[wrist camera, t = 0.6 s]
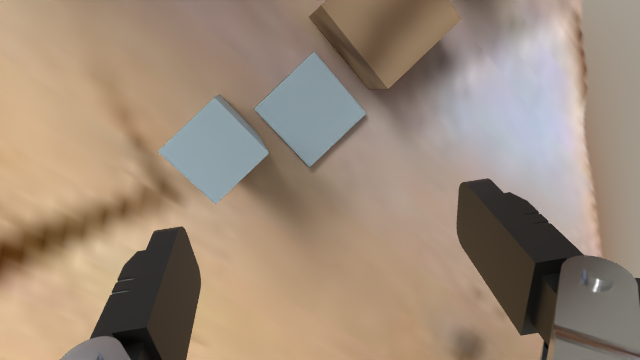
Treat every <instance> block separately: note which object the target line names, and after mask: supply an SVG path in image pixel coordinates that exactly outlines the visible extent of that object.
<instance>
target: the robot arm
mask: <svg viewBox="0 0 640 360" xmlns="http://www.w3.org/2000/svg"><path fill="white" fill-rule="evenodd" d="M457 235H458V239H459V241H460V244H461V246H462V248H463V249H464V251H465V252H466V254H467V255H468V257H469V258H470V260H471V261H472V263H473V264H474V266H475V267H476V269H477V270H478V272H479V273H480V275H481V276H482V278H483V279H484V281H485V282H486V284H487V285H488V287H489V288H490V290H491V291H492V293H493V294H494V296H495V297H496V299H497V300H498V302H499V303H500V305H501V306H502V308H503V309H504V311H505V312H506V314H507V315H508V317H509V318H510V320H511V321H512V323H513V324H514V326H515V327H516V329H517V330H518V332H519V333H520V335H527V334H533V333H539V334H540V336H541V337H542V338H543V340H544V341H543V345H542V349H541V356H540V360H640V278H634V277H633V276H632V274H631V273H629V272H628V271H627V270H626V269H625V268H623V267H621V266H620V265H618V264H616V263H614V262H612V261H609V260H607V259H603V258H600V257H595V256H585V255H583V254H582V253H581V252H580V251H579V250H578V249H577V248H576V247H575V246H574V245H573V244H572V243H571V242H570V241H569V240H568V239H567V238H566V237H565V236H563V235H562V234H561V233H560V232H559V231H558V230H557V229H556V228H555V227H554V226H553V225H552V224H551V223H550V224H549V223H548V220H547V219H546V218H545V217H543V216H542V215H541V214H539V212H538V211H537V210H536V209H535V208H534V207H533V206H532V205H531V204H530V203H529V202H528V201H526V200H524V199H522V198H520V197H518V196H516V195H514V194H512V193H510V192H508V193H503V192H502V191H501V190H500V189H499V188H498V187H497V186H496V185H495V184H494V183H493V182H492V181H491V180H490V179H481V180H475V181H468V182H463V183H461V184H460V187H459V196H458V211H457ZM117 280H118V282H117V283H116V284H115V286H114V288H113V290H112V295H110V297H109V299H108V301H107V303H106V305H105V307H104V309H103V312H102V314H101V316H100V318H99V320H98V322H97V325H96V327H95V329H94V331H93V333H92V335H91V337H90V339H89V340H87V341H85V342H82V343H81V344H79V345H77V346H76V347H74V348H73V349H71V350H70V351H69V352H68V353H66V354H65V355H64V356H63V357H62V358H61V359H60V360H186V357H187V353H188V348H189V343H190V338H191V333H192V328H193V323H194V318H195V313H196V308H197V304H198V299H199V294H200V288H201V277H200V271H199V267H198V264H197V261H196V258H195V255H194V252H193V250H192V247H191V244H190V241H189V238H188V235H187V233H186V230H185V229H184V228H183V227H175V228H169V229H163V230H156V231H154V232H153V234H152V237H151V239H150V241H149V244H148V246H147V249H146V250H143V251H137V253H136V254H135V255H134V256H133V257H132V258H131V259H130V260H129V261H128V262H127V263H126V264H125V265H124V267H123V269H122V271H121V273H120V275H119V277H118V279H117Z"/></svg>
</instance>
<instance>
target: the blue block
mask: <svg viewBox="0 0 640 360" xmlns="http://www.w3.org/2000/svg"><path fill="white" fill-rule="evenodd" d="M158 152H159V153H160V154H161V155H162V156H163V157H164V158H165V159H166V160H167V161H169V162H170V163H171V164H172V165H173V166H174V167H175V168H176V169H177V170H178V171H180V172H181V173H182V174H183V175H184V176H185V177H186V178H187V179H188V180H189V181H191V182H192V183H193V184H194V185H195V186H196V187H197V188H198V189H199V190H200V191H201V192H203V193H204V194H205V195H206V196H207V197H208V198H209V199H210V200H211V201H212V202H214V203H215V204H216V203H217V202H218V201H220V200H221V199H222V198H223V197H224V196H225V195H226V194H227V193H228V192H229V191H230V190H231V189H232V188H233V187H234V186H235V185H236V184H237V183H238V182H239V181H240V180H242V179H243V178H244V177H245V176H246V175H247V174H248V173H249V172H250V171H251V170H252V169H253V168H254V167H255V166H256V165H257V164H258V163H259V162H260V161H261V160H262V159H264V158H265V157H266V156H267V155H268V154H269V152H268V150H267V149H266V147H265V145H264V144H263V142H262V140H261V139H260V137H259V135H258V134H257V133H256V132H255V130H254V129H253V128H252V127H251V126H250V125H249V124H248V123H247V122H246V121H245V120H244V119H243V118H242V117H241V116H240V115H239V114H238V113H237V112H236V111H235V110H234V109H233V108H232V107H231V106H230V105H229V104H228V103H227V102H226V101H225V100H224V99H223V98H222V97H221V96H220V95H218V96H216V97H214V98H213V99H212V100H211V101H210V102H209V103H208V104H207V105H206V106H205V107H204V108H203V109H202V110H201V111H200V112H199V113H198V114H197V115H195V116H194V117H193V118H192V119H191V120H190V121H189V122H188V123H187V124H186V125H185V126H184V127H183V128H182V129H181V130H180V131H179V132H178V133H177V134H176V135H174V136H173V137H172V138H171V139H170V140H169V141H168V142H167V143H166V144H165V145H164V146H163V147H162V148H161V149H160V150H159V151H158Z"/></svg>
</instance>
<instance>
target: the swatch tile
mask: <svg viewBox="0 0 640 360" xmlns="http://www.w3.org/2000/svg"><path fill="white" fill-rule="evenodd" d="M254 110H255V111H256V112H257V113H258V114H259V115H260V116H261V117H262V118H263V119H264V120H265V121H266V122H267V123H268V124H269V125H270V126H271V127H272V128H273V129H274V131H275V132H276V133H277V134H278V135H279V136H280V137H281V138H282V139H283V140H284V141H285V142H286V143H287V144H288V145H289V146H290V147H291V148H292V149H293V151H294V152H295V153H296V154H297V155H298V156H299V157H300V158H301V159H302V160H303V161H304V162H305V163H306V164H307V165H308V166H309V167H311V166H312V165H313V164H314V163H315V162H316V161H317V160H318V159H319V158H320V157H321V156H322V155H323V154H324V153H325V152H326V151H327V150H328V149H329V148H331V147H332V146H333V145H334V144H335V143H336V142H337V141H338V140H339V139H340V138H341V137H342V136H343V135H344V134H345V133H346V132H347V131H348V130H349V129H350V128H351V127H353V126H354V125H355V124H356V123H357V122H358V121H359V120H360V119H361V118H362V117H363V116H364V115H365V114H366V112H365V111H364V110H363V109H362V108H361V106H360V105H359V104H358V103H357V102H356V100H355V99H354V98H353V97H352V96H351V94H350V93H349V92H348V91H347V90H346V89H345V87H344V86H343V85H342V84H341V83H340V81H339V80H338V79H337V78H336V77H335V75H334V74H333V73H332V72H331V71H330V70H329V68H328V67H327V66H326V65H325V64H324V62H323V61H322V60H321V59H320V58H319V56H318V55H317V54H316V53H315V52H313V53H312V54H311V55H310V56H309V57H308V58H307V59H305V60H304V61H303V62H302V63H301V64H300V65H299V66H298V67H297V68H296V69H295V70H294V71H293V72H292V73H291V74H290V75H289V76H288V77H287V78H286V79H285V80H283V81H282V82H281V83H280V84H279V85H278V86H277V87H276V88H275V89H274V90H273V91H272V92H271V93H270V94H269V95H268V96H267V97H266V98H265V99H264V100H262V101H261V102H260V103H259V104H258V105H257V106H256V107H255V108H254Z"/></svg>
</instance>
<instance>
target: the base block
mask: <svg viewBox="0 0 640 360" xmlns="http://www.w3.org/2000/svg"><path fill="white" fill-rule="evenodd" d="M309 17H310V18H311V20H312V21H313V22H314V23H315V25H316V26H317V27H318V28H319V29H320V31H321V32H322V33H323V34H324V36H325V37H326V38H327V39H328V40H329V42H330V43H331V44H332V45H333V47H334V48H335V49H336V50H337V51H338V53H339V54H340V55H341V56H342V58H343V59H344V60H345V61H346V62H347V64H348V65H349V66H350V67H351V69H352V70H353V71H354V72H355V73H356V75H357V76H358V77H359V78H360V80H361V81H362V82H363V83H364V84H365V86H366V87H367V88H368V89H389V88H390V87H391V86H392V85H393V84H394V83H395V82H396V81H397V80H398V79H399V78H400V77H401V76H402V75H404V74H405V73H406V72H407V71H408V70H409V69H410V68H411V67H412V66H413V65H414V64H415V63H416V62H417V61H418V60H419V59H420V58H421V57H422V56H423V55H424V54H426V53H427V52H428V51H429V50H430V49H431V48H432V47H433V46H434V45H435V44H436V43H437V42H438V41H439V40H440V39H441V38H442V37H443V36H444V35H445V34H446V33H448V32H449V31H450V30H451V29H452V28H453V27H454V26H455V25H456V24H457V23H458V22H459V21H460V20H461V17H460V16H459V14H458V13H457V11H456V10H455V8H454V7H453V5H452V4H451V2H450V1H449V0H326V1H325V2H324V3H323V4H322V5H321V6H320V7H319V8H318V9H317V10H316V11H315V12H314V13H313V14H311V15H310V16H309Z"/></svg>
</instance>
